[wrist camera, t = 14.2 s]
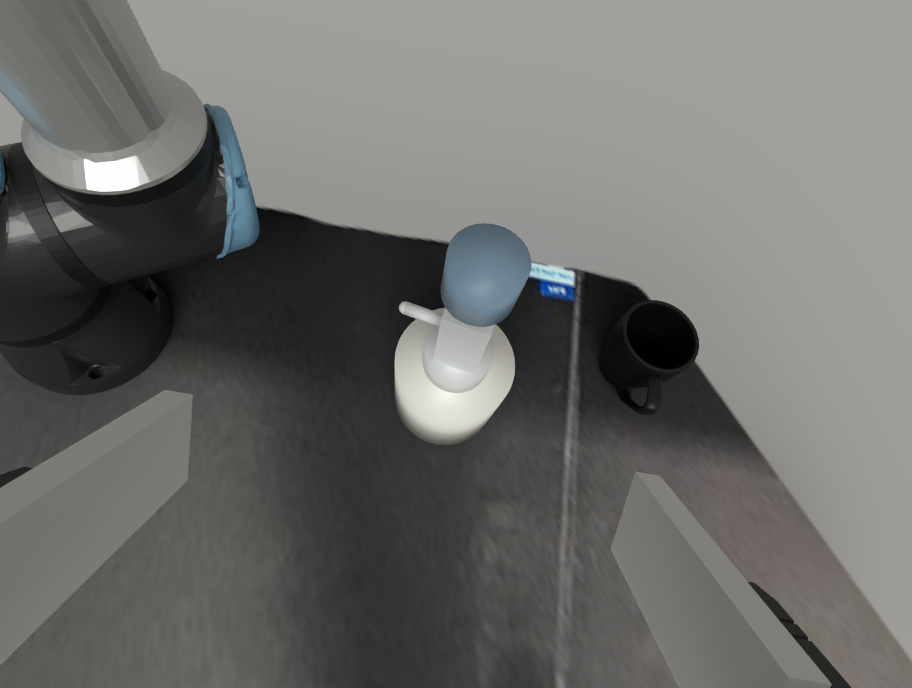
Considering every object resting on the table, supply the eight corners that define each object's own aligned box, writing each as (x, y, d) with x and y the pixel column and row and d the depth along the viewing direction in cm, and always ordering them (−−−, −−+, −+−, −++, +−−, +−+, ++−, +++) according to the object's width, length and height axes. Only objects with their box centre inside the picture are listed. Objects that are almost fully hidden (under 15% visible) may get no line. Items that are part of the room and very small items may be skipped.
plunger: (422, 361, 38) (434, 279, 27) (442, 310, 40) (461, 212, 29) (480, 381, 38) (518, 308, 26) (497, 329, 40) (540, 239, 28)
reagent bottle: (379, 424, 51) (369, 347, 31) (415, 337, 55) (426, 220, 35) (476, 459, 51) (528, 404, 31) (504, 369, 55) (566, 268, 35)
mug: (578, 419, 54) (613, 394, 45) (593, 327, 59) (627, 290, 50) (647, 439, 54) (696, 419, 45) (656, 346, 59) (701, 312, 50)
